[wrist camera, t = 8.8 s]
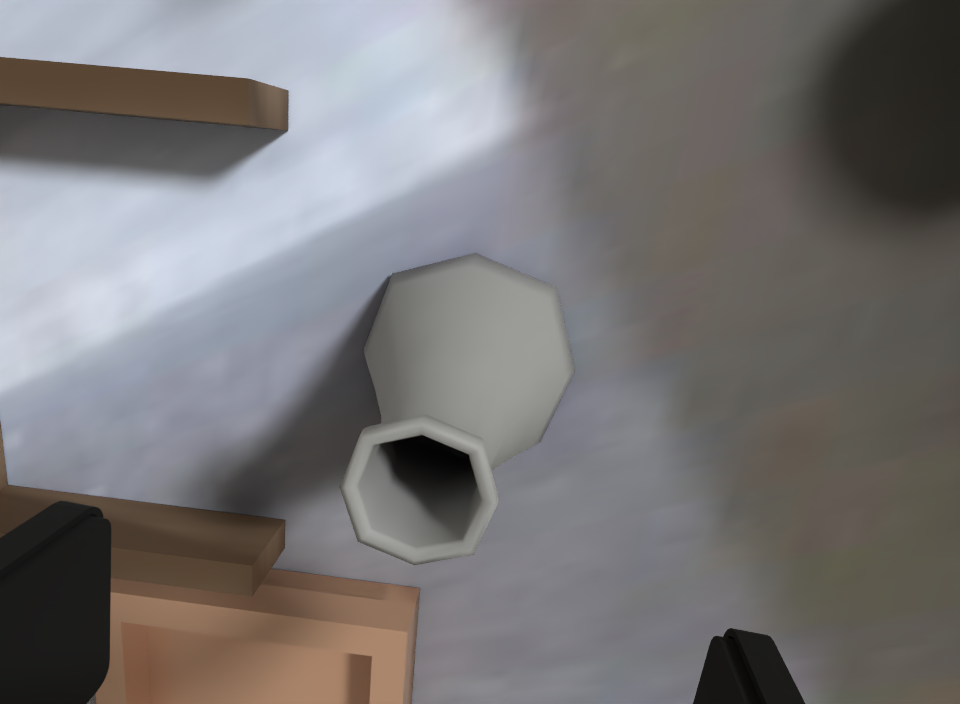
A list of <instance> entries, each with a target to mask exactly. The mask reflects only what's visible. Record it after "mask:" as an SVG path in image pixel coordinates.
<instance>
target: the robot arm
mask: <svg viewBox="0 0 960 704" xmlns="http://www.w3.org/2000/svg"><path fill="white" fill-rule="evenodd" d="M110 603H111V523H110V521H109V520H108V519H105V518H104V517H103V513H102V511H101V509H99V508H98V507H94V506H89V505H84V504H78V503H73V502H68V501H58V502H56V503H53V504H52V505H50V506H49V507H47V508H46V509H44V510H43V511H41V512H39V513H38V514H36V515H35V516H33V517H32V518H30V519H29V520H27V521H26V522H24V523H22V524H21V525H19V526H18V527H16V528H15V529H13V530H12V531H10V532H8V533H7V534H5V535H4V536H2V537H1V538H0V704H86V703H87V702H88V701H89V700H90V699H91V698H92V696H93V695H94V694H95V693H96V692H97V691H98V689H99V688H100V687H101V685H102V684H103V682H104V680H105V678H106V675H107V673H108V669H109V664H110ZM693 704H805V702H804V700H803V698H802V696H801V694H800V692H799V690H798V688H797V686H796V685H795V683H794V681H793V679H792V677H791V675H790V673H789V671H788V669H787V667H786V665H785V663H784V661H783V659H782V657H781V655H780V653H779V651H778V649H777V647H776V645H775V643H774V641H773V640H772V638H771V637H770V636H768V635H764V634H758V633H753V632H748V631H743V630H737V629H732V628H730V629H728V630H727V631H726V632H725V634H724V636H723V637H720V636H714V637H713V639H712V640H711V643H710V646H709V649H708V653H707V656H706V660H705V663H704V667H703V670H702V674H701V678H700V681H699V685H698V688H697V692H696V695H695V699H694V702H693Z"/></svg>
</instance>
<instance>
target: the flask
mask: <svg viewBox="0 0 960 704" xmlns="http://www.w3.org/2000/svg"><path fill="white" fill-rule="evenodd" d="M364 354H365V359H366V362H367V365H368V368H369V372H370V375H371V378H372V381H373V385H374V388H375V391H376V396H377V400H378V405H379V409H380V413H381V423H380V424H377V425H373V426H368V427H366V428H364V429H363V430H362V432H361V434H360V437H359V439H358V442H357V444H356V447H355V449H354V452H353V454H352V457H351V459H350V462H349V464H348V467H347V470H346V472H345V475H344V477H343V480H342V482H341V485H340V489H341V492H342V495H343V498H344V501H345V504H346V507H347V510H348V513H349V516H350V519H351V522H352V525H353V528H354V531H355V534H356V537H357V540H358V542H360V543H363V544H365V545H367V546H370V547H372V548H375V549H377V550H379V551H382V552H384V553H387V554H389V555H391V556H394V557H396V558H399V559H401V560H404V561H406V562H408V563H411V564H413V565H418V564H423V563H429V562H435V561H440V560H446V559H452V558H457V557H463V556H469V555H474V553H475V551H476V549H477V546H478V544H479V542H480V540H481V538H482V536H483V534H484V532H485V530H486V528H487V526H488V523H489V521H490V519H491V517H492V515H493V513H494V511H495V509H496V507H497V505H498V501H499V496H498V493H497V489H496V485H495V481H494V478H493V474H492V470H493V469H495V468H496V467H498V466H499V465H501V464H502V463H504V462H505V461H507V460H508V459H510V458H511V457H513V456H514V455H517V454H519V453H521V452H523V451H525V450H527V449H529V448H531V447H533V446H535V445H536V444H538V443H539V442H540V441H541V439H542V437H543V435H544V433H545V431H546V429H547V427H548V425H549V423H550V421H551V419H552V417H553V415H554V413H555V411H556V408H557V406H558V404H559V402H560V400H561V398H562V396H563V394H564V392H565V390H566V388H567V386H568V384H569V382H570V380H571V378H572V376H573V373H574V371H575V367H574V362H573V358H572V353H571V349H570V345H569V340H568V336H567V331H566V327H565V322H564V318H563V314H562V309H561V305H560V300H559V296H558V291H557V288H556V287H554V286H551V285H549V284H547V283H544V282H542V281H540V280H537V279H535V278H533V277H530V276H528V275H526V274H523V273H521V272H519V271H516V270H514V269H512V268H509V267H507V266H505V265H502V264H500V263H498V262H495V261H493V260H491V259H488V258H486V257H484V256H482V255H479V254H477V253H474V254H470V255H466V256H462V257H458V258H454V259H450V260H445V261H441V262H437V263H433V264H429V265H425V266H421V267H417V268H413V269H409V270H405V271H401V272H396V273H392V276H391V278H390V281H389V284H388V286H387V289H386V292H385V294H384V297H383V299H382V302H381V305H380V307H379V310H378V313H377V315H376V318H375V321H374V323H373V326H372V328H371V331H370V334H369V336H368V339H367V342H366V344H365V347H364Z"/></svg>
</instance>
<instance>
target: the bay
mask: <svg viewBox="0 0 960 704" xmlns="http://www.w3.org/2000/svg"><path fill="white" fill-rule="evenodd" d="M0 105H11V106H22V107H33V108H44V109H55V110H66V111H77V112H88V113H99V114H110V115H121V116H132V117H143V118H154V119H165V120H176V121H187V122H198V123H209V124H220V125H231V126H242V127H253V128H264V129H275V130H286V131H288V90H285V89H281V88H278V87H275V86H271V85H268V84H265V83H261V82H258V81H255V80H251V79H247V78H236V77H224V76H213V75H201V74H189V73H178V72H166V71H155V70H143V69H132V68H120V67H109V66H97V65H85V64H74V63H62V62H51V61H39V60H28V59H16V58H5V57H0ZM58 501H68V502H73V503H78V504H84V505H89V506H94V507H98V508H99V509H101V511H102V513H103V517H104V518H105V519H108V520H109V521H110V523H111V578H117V579H124V580H132V581H139V582H147V583H154V584H162V585H169V586H177V587H184V588H192V589H199V590H207V591H214V592H222V593H229V594H237V595H244V596H253V595H254V593H255V592H256V590H257V589H258V587H259V586H260V584H261V583H262V581H263V580H264V578H265V577H266V575H267V574H268V572H269V571H270V569H271V568H272V566H273V565H274V563H275V562H276V560H277V559H278V557H279V556H280V554H281V553H282V551H283V550H284V548H285V520H282V519H274V518H266V517H258V516H250V515H242V514H234V513H226V512H218V511H210V510H202V509H194V508H186V507H178V506H171V505H163V504H155V503H147V502H139V501H131V500H123V499H115V498H107V497H99V496H91V495H83V494H75V493H67V492H59V491H52V490H44V489H36V488H28V487H20V486H12V485H8V482H7V474H6V465H5V457H4V449H3V440H2V432H1V424H0V538H1V537H2V536H4V535H5V534H7V533H8V532H10V531H12V530H13V529H15V528H16V527H18V526H19V525H21V524H22V523H24V522H26V521H27V520H29V519H30V518H32V517H33V516H35V515H36V514H38V513H39V512H41V511H43V510H44V509H46V508H47V507H49V506H50V505H52V504H53V503H56V502H58Z"/></svg>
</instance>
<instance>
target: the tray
mask: <svg viewBox="0 0 960 704" xmlns="http://www.w3.org/2000/svg"><path fill="white" fill-rule="evenodd" d="M419 595H420V588H415V587H408V586H400V585H392V584H385V583H377V582H369V581H362V580H354V579H346V578H339V577H331V576H323V575H316V574H308V573H300V572H293V571H285V570H277V569H270V571H269V572H268V574H267V575H266V577H265V578H264V580H263V581H262V583H261V584H260V586H259V587H258V589H257V590H256V592H255V593H254V595H253V596H244V595H237V594H229V593H222V592H214V591H207V590H199V589H192V588H184V587H177V586H169V585H162V584H154V583H147V582H139V581H132V580H124V579H117V578H111V603H110V664H109V669H108V673H107V675H106V678H105V680H104V682H103V684H102V685H101V687H100V688H99V689H98V691H97V692H96V693H95V695H96V704H412V690H413V677H414V663H415V649H416V636H417V622H418V609H419Z"/></svg>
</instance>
